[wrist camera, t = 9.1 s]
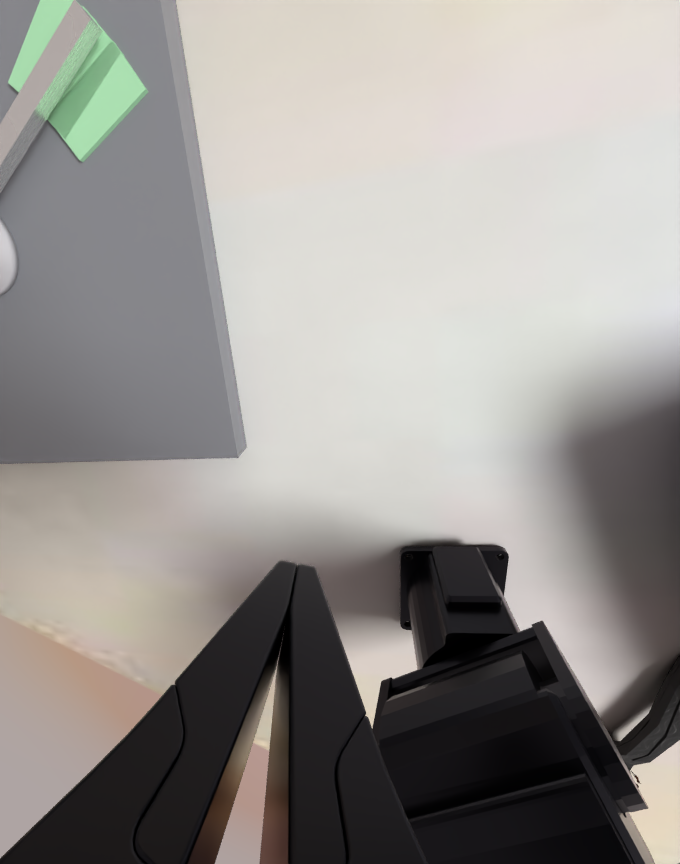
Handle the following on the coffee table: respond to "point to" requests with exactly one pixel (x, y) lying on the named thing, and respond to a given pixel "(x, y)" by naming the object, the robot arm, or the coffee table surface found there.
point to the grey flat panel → (111, 254)
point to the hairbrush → (655, 725)
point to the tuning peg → (45, 86)
